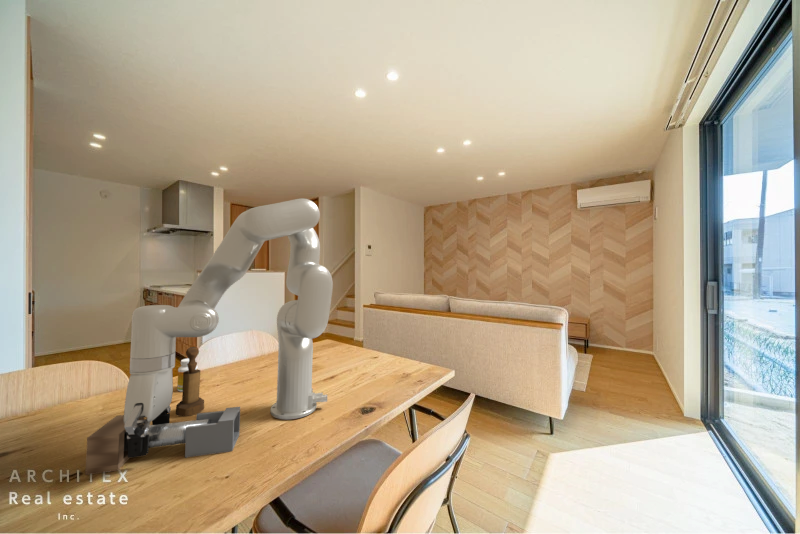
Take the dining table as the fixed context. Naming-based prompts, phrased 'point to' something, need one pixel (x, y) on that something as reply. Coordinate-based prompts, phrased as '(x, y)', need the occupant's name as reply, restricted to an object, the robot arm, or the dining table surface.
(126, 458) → the socket block
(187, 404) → the brown wooden upright piece
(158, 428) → the slip tube
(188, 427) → the sleeve
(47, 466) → the dining table surface
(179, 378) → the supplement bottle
